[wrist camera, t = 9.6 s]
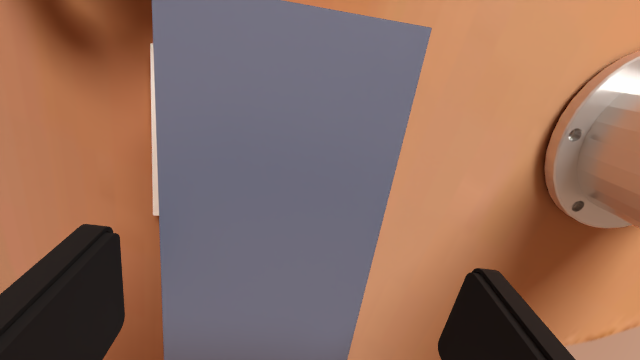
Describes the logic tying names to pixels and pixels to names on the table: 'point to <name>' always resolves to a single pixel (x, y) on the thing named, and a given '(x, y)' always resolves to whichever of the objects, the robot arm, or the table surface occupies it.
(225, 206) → the blue-grey rectangular block
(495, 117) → the table surface
